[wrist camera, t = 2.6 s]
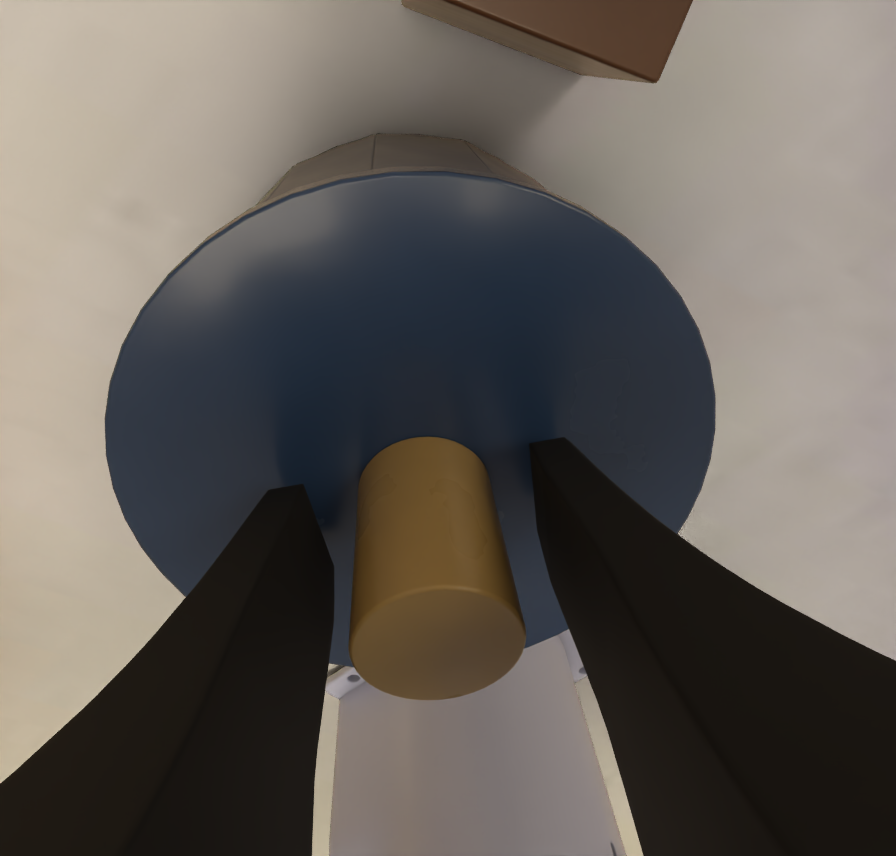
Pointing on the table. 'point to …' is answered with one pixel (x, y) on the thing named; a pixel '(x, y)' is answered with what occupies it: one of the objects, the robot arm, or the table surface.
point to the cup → (394, 159)
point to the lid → (407, 403)
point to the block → (574, 31)
